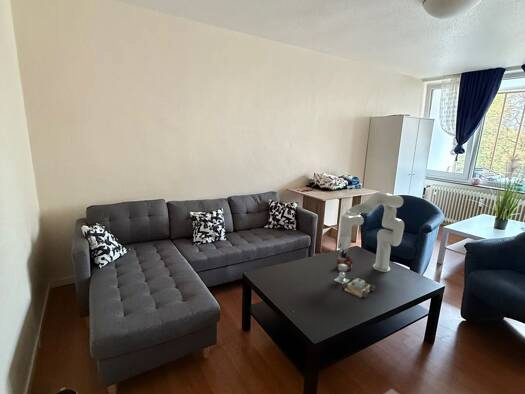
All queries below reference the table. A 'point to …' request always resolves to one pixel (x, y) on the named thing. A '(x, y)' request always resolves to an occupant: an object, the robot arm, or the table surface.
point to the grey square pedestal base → (341, 278)
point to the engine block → (359, 283)
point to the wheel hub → (342, 267)
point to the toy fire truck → (345, 261)
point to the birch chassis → (357, 291)
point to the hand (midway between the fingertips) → (343, 257)
